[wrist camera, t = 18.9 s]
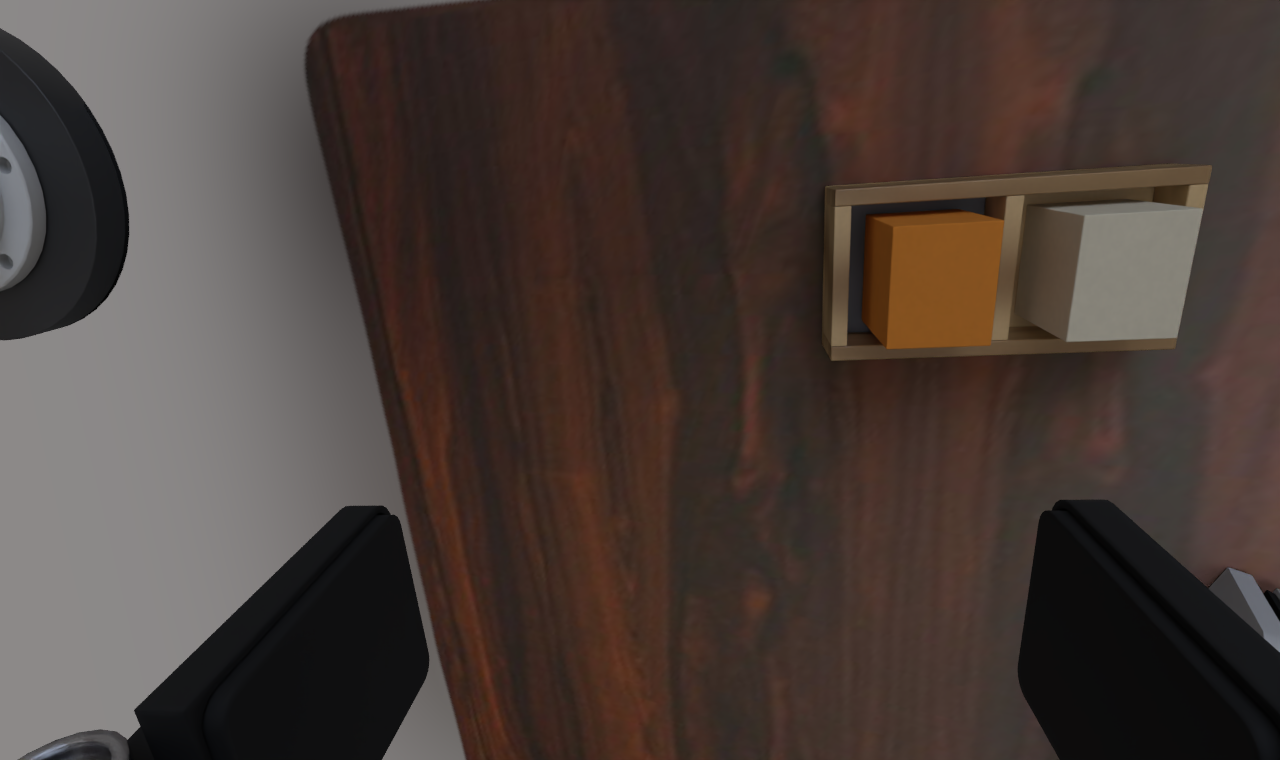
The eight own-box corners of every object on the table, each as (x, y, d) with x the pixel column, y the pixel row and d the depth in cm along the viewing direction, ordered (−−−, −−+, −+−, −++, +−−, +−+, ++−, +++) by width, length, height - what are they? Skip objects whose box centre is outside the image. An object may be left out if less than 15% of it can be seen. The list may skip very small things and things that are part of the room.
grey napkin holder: (1127, 781, 45) (1173, 914, 36) (1056, 736, 46) (1083, 854, 37) (1307, 597, 39) (1416, 702, 30) (1220, 553, 40) (1300, 640, 31)
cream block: (1026, 204, 33) (1084, 215, 28) (1126, 198, 32) (1204, 208, 27) (1013, 313, 35) (1066, 342, 30) (1107, 309, 34) (1177, 338, 29)
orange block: (865, 214, 34) (893, 226, 29) (959, 208, 33) (1004, 220, 28) (861, 320, 36) (886, 349, 30) (950, 316, 35) (991, 346, 30)
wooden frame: (824, 186, 34) (834, 189, 31) (1168, 163, 32) (1213, 165, 29) (821, 344, 37) (830, 361, 34) (1137, 332, 35) (1175, 349, 32)
